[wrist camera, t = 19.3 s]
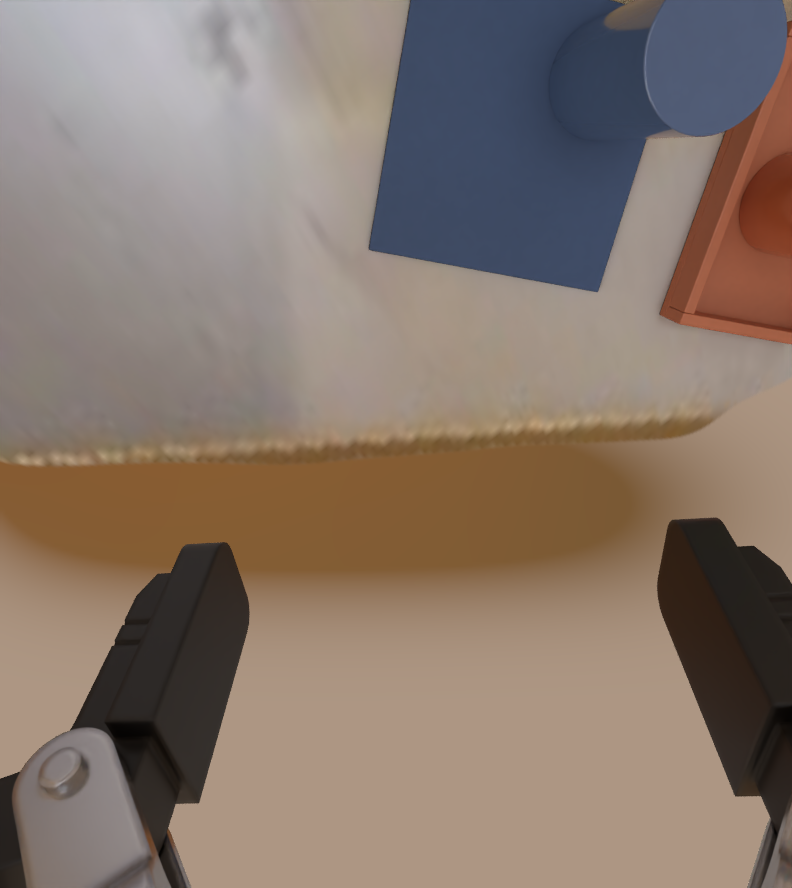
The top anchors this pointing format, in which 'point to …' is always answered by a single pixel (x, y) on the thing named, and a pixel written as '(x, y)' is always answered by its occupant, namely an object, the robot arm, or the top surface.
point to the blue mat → (497, 147)
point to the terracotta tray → (738, 233)
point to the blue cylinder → (668, 68)
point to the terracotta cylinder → (769, 208)
